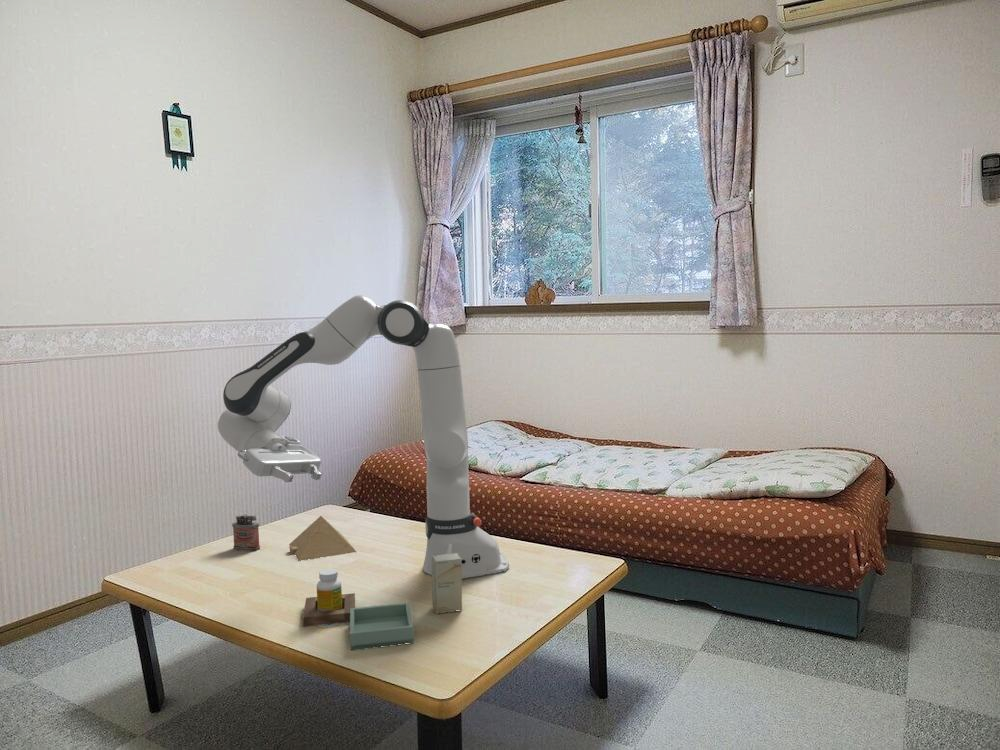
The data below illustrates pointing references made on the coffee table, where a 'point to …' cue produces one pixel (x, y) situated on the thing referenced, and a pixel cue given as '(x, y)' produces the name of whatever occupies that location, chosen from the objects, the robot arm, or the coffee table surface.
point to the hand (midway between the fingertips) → (305, 478)
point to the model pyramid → (320, 542)
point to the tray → (381, 626)
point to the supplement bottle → (329, 591)
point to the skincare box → (446, 583)
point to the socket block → (327, 612)
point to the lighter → (246, 533)
